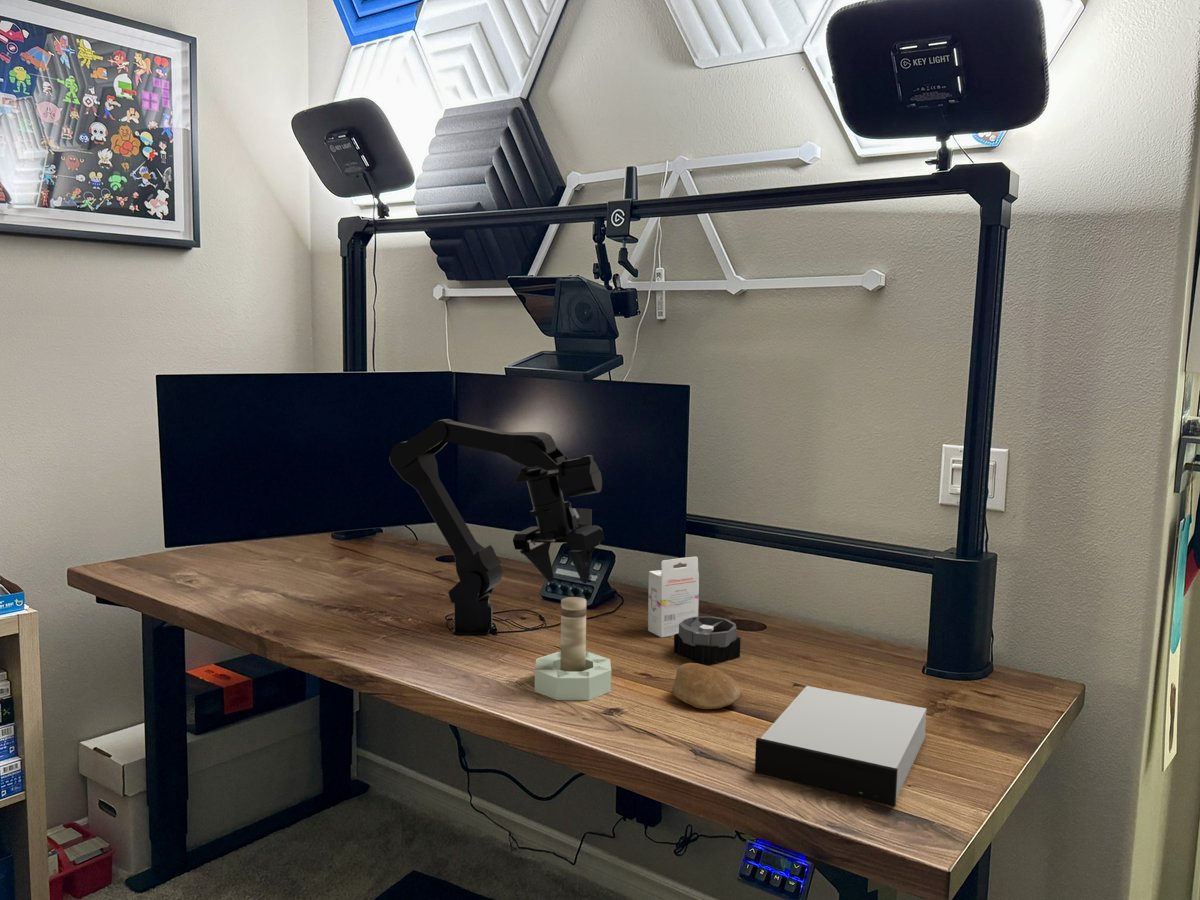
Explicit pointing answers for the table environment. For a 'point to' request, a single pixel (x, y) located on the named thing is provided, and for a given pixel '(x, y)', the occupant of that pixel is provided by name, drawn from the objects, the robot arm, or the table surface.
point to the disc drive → (843, 744)
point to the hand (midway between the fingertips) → (568, 581)
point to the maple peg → (573, 634)
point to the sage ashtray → (572, 678)
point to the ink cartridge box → (672, 595)
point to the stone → (705, 686)
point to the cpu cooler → (707, 640)
